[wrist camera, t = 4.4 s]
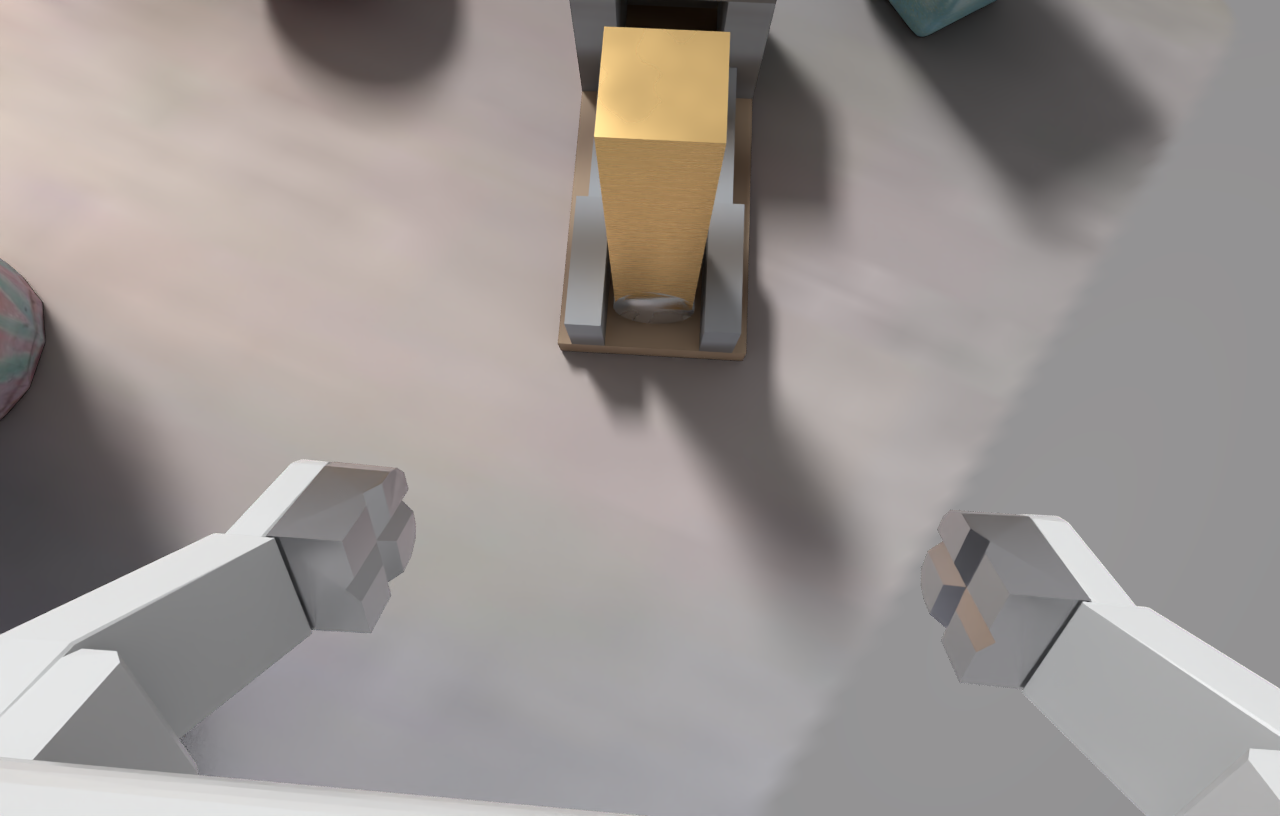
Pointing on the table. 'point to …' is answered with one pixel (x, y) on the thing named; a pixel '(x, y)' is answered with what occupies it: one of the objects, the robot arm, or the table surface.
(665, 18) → the rail base
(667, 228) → the tall wooden block
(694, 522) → the table surface
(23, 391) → the potted plant
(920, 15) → the flower pot
